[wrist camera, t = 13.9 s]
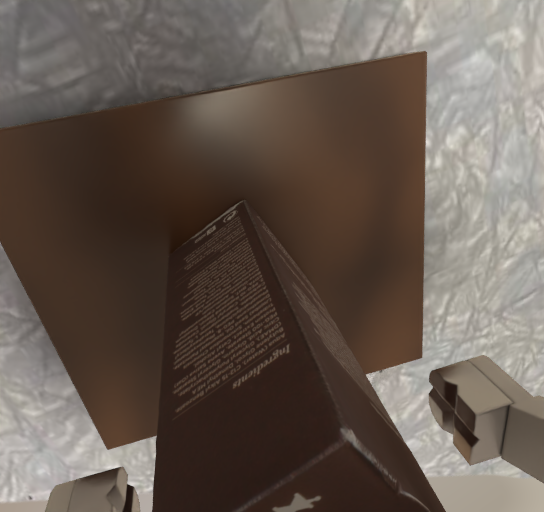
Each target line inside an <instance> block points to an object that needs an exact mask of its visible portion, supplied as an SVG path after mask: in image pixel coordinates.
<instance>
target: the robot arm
mask: <svg viewBox="0 0 544 512" xmlns="http://www.w3.org/2000/svg"><path fill="white" fill-rule="evenodd" d="M429 382H430V383H431V385H432V386H433V389H432V390H431V391H430V393H429V405H430V408H431V412H432V414H433V416H434V418H435V420H436V421H437V423H438V424H439V425H440V427H441V428H442V429H443V430H445V431H447V432H449V433H451V434H453V444H454V445H455V446H456V448H457V449H458V450H459V452H460V453H461V454H462V455H463V457H464V458H465V459H466V461H467V462H468V463H469V464H470V465H474V464H477V463H480V462H483V461H486V460H490V459H493V458H496V457H499V456H501V458H502V459H504V460H506V461H507V462H509V463H511V464H512V465H514V466H516V467H517V468H519V469H521V470H522V471H524V472H526V473H527V474H529V475H531V476H532V477H534V478H536V479H537V480H539V481H541V482H543V483H544V397H541V396H536V397H533V396H532V395H531V394H529V393H528V392H527V391H526V390H525V389H524V388H523V387H522V386H520V385H519V384H518V383H517V382H516V381H515V380H514V379H512V378H511V377H510V376H509V375H508V374H507V373H506V372H504V371H503V370H502V369H501V368H500V367H499V366H498V365H496V364H495V363H494V362H493V361H492V360H491V359H490V358H488V357H487V356H484V355H481V356H478V357H475V358H471V359H468V360H465V361H461V362H458V363H454V364H451V365H448V366H445V367H442V368H439V369H436V370H433V371H431V373H430V376H429ZM127 480H128V474H127V473H126V471H125V469H124V467H119V468H115V469H112V470H108V471H104V472H101V473H97V474H94V475H90V476H86V477H83V478H79V479H76V480H73V481H69V482H66V483H63V484H59V485H56V486H55V487H54V489H53V490H52V492H51V493H50V496H49V500H48V503H47V507H46V510H45V512H140V503H139V499H138V495H137V492H136V490H135V488H134V487H133V486H130V485H128V484H127Z"/></svg>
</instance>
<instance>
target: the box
mask: <svg viewBox="0 0 544 512" xmlns="http://www.w3.org/2000/svg"><path fill="white" fill-rule="evenodd" d="M158 409H159V415H158V428H157V438H156V461H155V475H154V487H153V510H152V512H446V511H445V509H444V508H443V506H442V504H441V503H440V501H439V499H438V498H437V496H436V494H435V492H434V491H433V489H432V487H431V486H430V484H429V482H428V480H427V478H426V477H425V475H424V473H423V471H422V470H421V468H420V466H419V464H418V463H417V461H416V459H415V458H414V456H413V454H412V452H411V451H410V449H409V448H408V446H407V445H406V443H405V442H404V440H403V438H402V436H401V435H400V433H399V432H398V430H397V428H396V427H395V425H394V423H393V422H392V420H391V418H390V416H389V415H388V413H387V411H386V409H385V408H384V406H383V404H382V403H381V401H380V399H379V397H378V396H377V394H376V392H375V390H374V389H373V387H372V385H371V383H370V382H369V380H368V378H367V377H366V375H365V373H364V371H363V370H362V368H361V366H360V365H359V363H358V361H357V359H356V358H355V356H354V354H353V353H352V351H351V349H350V348H349V346H348V344H347V343H346V341H345V339H344V338H343V336H342V334H341V332H340V331H339V329H338V327H337V325H336V324H335V322H334V320H333V319H332V317H331V315H330V314H329V312H328V310H327V309H326V307H325V305H324V303H323V302H322V300H321V299H320V297H319V295H318V294H317V292H316V290H315V288H314V287H313V285H312V284H311V283H310V281H309V280H308V278H307V277H306V276H305V274H304V273H303V272H302V270H301V269H300V268H299V266H298V265H297V264H296V262H295V261H294V260H293V259H292V257H291V256H290V255H289V253H288V252H287V251H286V249H285V248H284V247H283V246H282V244H281V243H280V242H279V240H278V239H277V238H276V236H275V235H274V234H273V233H272V231H271V230H270V229H269V227H268V226H267V225H266V224H265V222H264V221H263V220H262V219H261V217H260V216H259V215H258V213H257V212H256V211H255V210H254V209H253V207H252V206H251V205H250V204H249V203H248V202H247V201H246V200H243V201H241V202H239V203H238V204H236V205H234V206H233V207H230V208H229V209H228V210H227V211H225V213H224V214H222V215H221V216H219V217H218V218H217V219H215V220H214V221H213V222H211V223H209V224H208V225H207V226H206V227H205V228H204V229H202V230H201V231H200V232H198V233H197V234H196V235H194V236H193V237H192V238H191V239H189V240H188V241H187V242H186V243H184V244H183V245H182V246H180V247H179V248H177V249H176V250H175V251H174V252H173V253H172V254H170V255H169V260H168V273H167V286H166V302H165V316H164V336H163V350H162V365H161V381H160V398H159V408H158Z"/></svg>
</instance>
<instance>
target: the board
mask: <svg viewBox="0 0 544 512" xmlns="http://www.w3.org/2000/svg"><path fill="white" fill-rule="evenodd" d="M426 80H427V52H426V51H421V52H413V53H407V54H402V55H396V56H391V57H386V58H380V59H375V60H369V61H364V62H358V63H353V64H347V65H342V66H337V67H331V68H326V69H320V70H315V71H309V72H304V73H298V74H293V75H287V76H282V77H277V78H271V79H266V80H260V81H255V82H249V83H244V84H238V85H233V86H228V87H222V88H217V89H211V90H206V91H200V92H195V93H189V94H184V95H179V96H173V97H168V98H162V99H157V100H151V101H146V102H140V103H135V104H130V105H124V106H119V107H113V108H108V109H102V110H97V111H91V112H86V113H81V114H75V115H70V116H64V117H59V118H53V119H48V120H42V121H37V122H32V123H26V124H21V125H15V126H10V127H4V128H0V242H1V244H2V246H3V248H4V250H5V252H6V254H7V256H8V258H9V260H10V262H11V263H12V265H13V267H14V269H15V271H16V273H17V275H18V277H19V279H20V281H21V283H22V285H23V287H24V289H25V291H26V293H27V295H28V296H29V298H30V300H31V302H32V304H33V306H34V308H35V310H36V312H37V314H38V316H39V318H40V320H41V322H42V324H43V326H44V328H45V329H46V331H47V333H48V335H49V337H50V339H51V341H52V343H53V345H54V347H55V349H56V351H57V353H58V355H59V357H60V359H61V361H62V363H63V364H64V366H65V368H66V370H67V372H68V374H69V376H70V378H71V380H72V382H73V384H74V386H75V388H76V390H77V392H78V394H79V396H80V397H81V399H82V401H83V403H84V405H85V407H86V409H87V411H88V413H89V415H90V417H91V419H92V421H93V423H94V425H95V427H96V429H97V430H98V432H99V434H100V436H101V438H102V440H103V442H104V444H105V446H106V448H107V449H108V450H109V449H112V448H116V447H119V446H123V445H126V444H129V443H133V442H136V441H140V440H143V439H147V438H150V437H153V436H157V428H158V415H159V409H158V408H159V398H160V381H161V365H162V350H163V336H164V316H165V302H166V286H167V273H168V260H169V255H170V254H172V253H173V252H174V251H175V250H176V249H177V248H179V247H180V246H182V245H183V244H184V243H186V242H187V241H188V240H189V239H191V238H192V237H193V236H194V235H196V234H197V233H198V232H200V231H201V230H202V229H204V228H205V227H206V226H207V225H208V224H209V223H211V222H213V221H214V220H215V219H217V218H218V217H219V216H221V215H222V214H224V213H225V211H227V210H228V209H229V208H230V207H233V206H234V205H236V204H238V203H239V202H241V201H243V200H246V201H247V202H248V203H249V204H250V205H251V206H252V207H253V209H254V210H255V211H256V212H257V213H258V215H259V216H260V217H261V219H262V220H263V221H264V222H265V224H266V225H267V226H268V227H269V229H270V230H271V231H272V233H273V234H274V235H275V236H276V238H277V239H278V240H279V242H280V243H281V244H282V246H283V247H284V248H285V249H286V251H287V252H288V253H289V255H290V256H291V257H292V259H293V260H294V261H295V262H296V264H297V265H298V266H299V268H300V269H301V270H302V272H303V273H304V274H305V276H306V277H307V278H308V280H309V281H310V283H311V284H312V285H313V287H314V288H315V290H316V292H317V294H318V295H319V297H320V299H321V300H322V302H323V303H324V305H325V307H326V309H327V310H328V312H329V314H330V315H331V317H332V319H333V320H334V322H335V324H336V325H337V327H338V329H339V331H340V332H341V334H342V336H343V338H344V339H345V341H346V343H347V344H348V346H349V348H350V349H351V351H352V353H353V354H354V356H355V358H356V359H357V361H358V363H359V365H360V366H361V368H362V370H363V371H364V373H365V375H366V374H369V373H372V372H376V371H379V370H383V369H386V368H389V367H393V366H396V365H400V364H403V363H407V362H410V361H413V360H417V359H420V358H422V340H423V275H424V210H425V145H426Z"/></svg>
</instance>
